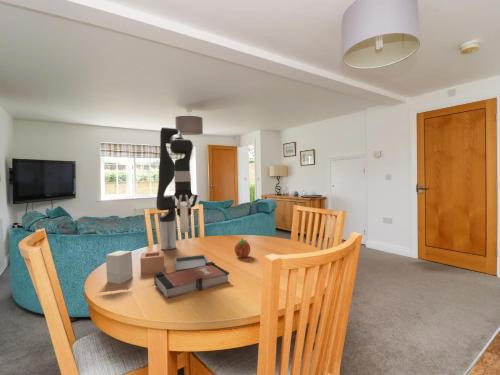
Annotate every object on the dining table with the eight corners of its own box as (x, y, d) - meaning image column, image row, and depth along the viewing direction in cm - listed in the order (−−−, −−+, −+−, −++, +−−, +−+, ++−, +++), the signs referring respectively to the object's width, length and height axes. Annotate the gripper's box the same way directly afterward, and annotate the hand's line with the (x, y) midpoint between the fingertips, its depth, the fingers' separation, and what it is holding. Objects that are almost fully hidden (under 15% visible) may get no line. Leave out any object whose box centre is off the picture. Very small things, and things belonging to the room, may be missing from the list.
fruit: (231, 258, 146) (231, 240, 146) (239, 253, 155) (238, 236, 155) (246, 260, 143) (246, 241, 143) (253, 255, 152) (252, 237, 151)
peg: (180, 231, 134) (179, 205, 134) (188, 230, 135) (187, 204, 135) (180, 232, 130) (179, 205, 130) (189, 232, 132) (188, 205, 131)
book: (166, 300, 98) (166, 287, 98) (154, 285, 113) (154, 273, 113) (230, 283, 113) (230, 272, 113) (212, 272, 127) (211, 261, 127)
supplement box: (133, 279, 119) (132, 251, 118) (120, 286, 112) (119, 255, 111) (120, 278, 121) (118, 250, 121) (106, 284, 114) (105, 254, 114)
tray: (174, 262, 142) (173, 257, 142) (204, 259, 147) (204, 254, 147) (176, 275, 123) (175, 270, 123) (211, 270, 128) (211, 265, 128)
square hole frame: (142, 269, 132) (141, 253, 132) (164, 266, 135) (163, 250, 135) (141, 276, 123) (140, 258, 123) (164, 273, 126) (163, 256, 126)
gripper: (196, 180, 138) (198, 214, 138) (167, 181, 134) (168, 216, 134) (198, 180, 131) (199, 216, 131) (167, 181, 126) (168, 218, 127)
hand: (184, 215), depth 133 cm, fingers closed on peg, 4 cm apart
